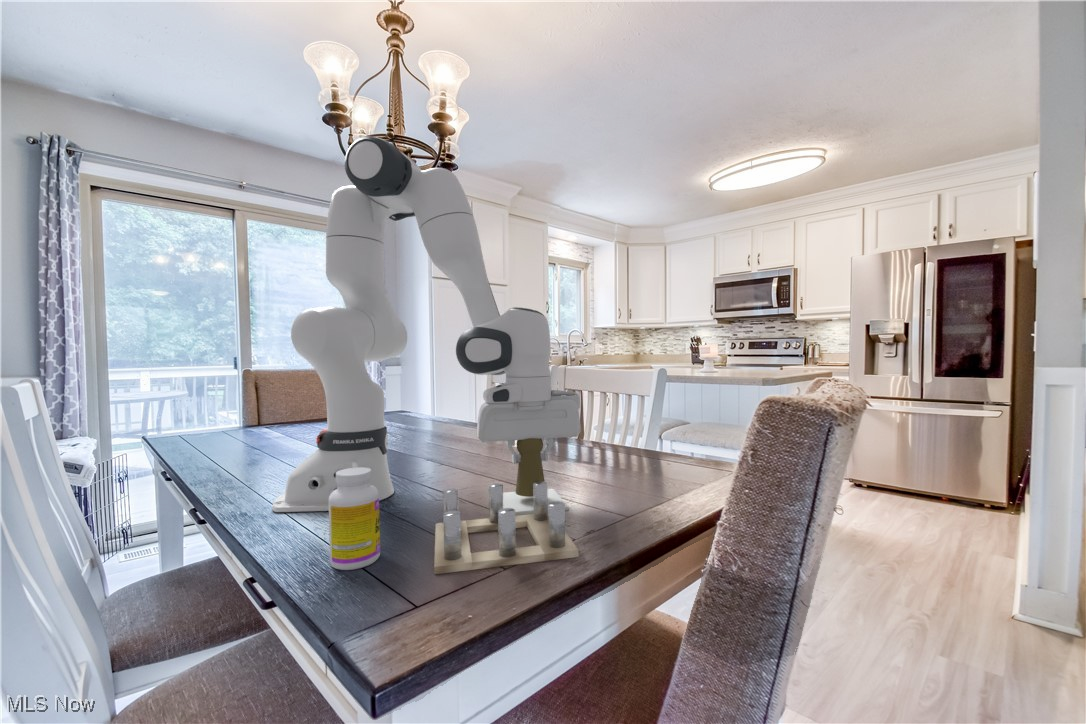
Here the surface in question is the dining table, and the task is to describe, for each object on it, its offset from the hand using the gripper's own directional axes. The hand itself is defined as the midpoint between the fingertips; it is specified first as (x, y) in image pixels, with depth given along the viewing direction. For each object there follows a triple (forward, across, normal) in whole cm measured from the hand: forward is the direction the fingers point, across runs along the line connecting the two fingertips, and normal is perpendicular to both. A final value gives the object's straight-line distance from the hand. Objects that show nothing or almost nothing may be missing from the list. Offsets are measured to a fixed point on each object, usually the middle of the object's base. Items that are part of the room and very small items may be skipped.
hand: (529, 461), depth 88 cm
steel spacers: (+8, +8, +17) cm, 20 cm away
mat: (+8, 0, 0) cm, 8 cm away
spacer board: (+8, +8, +17) cm, 20 cm away
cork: (+6, 0, 0) cm, 6 cm away
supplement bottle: (+8, +29, +18) cm, 35 cm away
